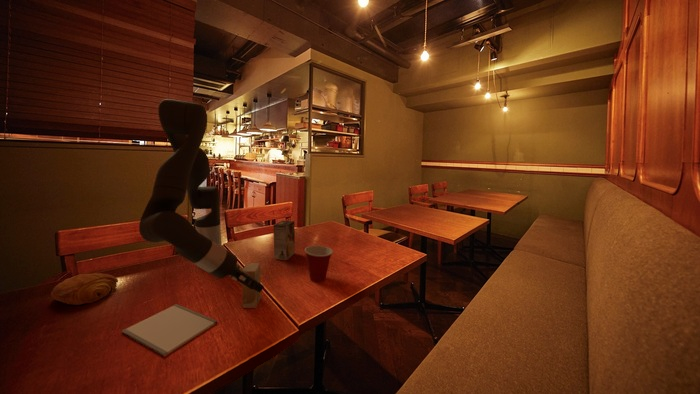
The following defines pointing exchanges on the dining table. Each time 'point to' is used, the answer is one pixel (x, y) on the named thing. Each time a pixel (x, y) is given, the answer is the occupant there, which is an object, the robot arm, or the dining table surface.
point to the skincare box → (248, 295)
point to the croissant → (84, 288)
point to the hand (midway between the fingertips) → (255, 284)
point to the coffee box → (284, 240)
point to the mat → (169, 329)
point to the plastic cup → (318, 262)
